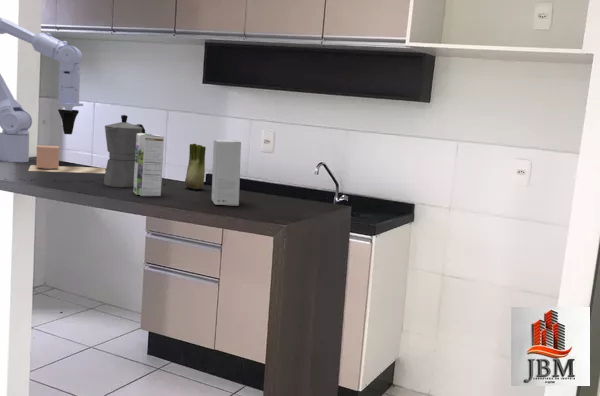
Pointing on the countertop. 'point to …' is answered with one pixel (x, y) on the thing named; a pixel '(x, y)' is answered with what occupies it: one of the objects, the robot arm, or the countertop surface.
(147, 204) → the countertop surface
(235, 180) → the skincare box
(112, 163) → the coffeepot
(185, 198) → the countertop surface
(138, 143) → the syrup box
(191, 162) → the fennel bulb
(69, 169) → the maple board
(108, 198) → the countertop surface
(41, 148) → the salmon orange cube
